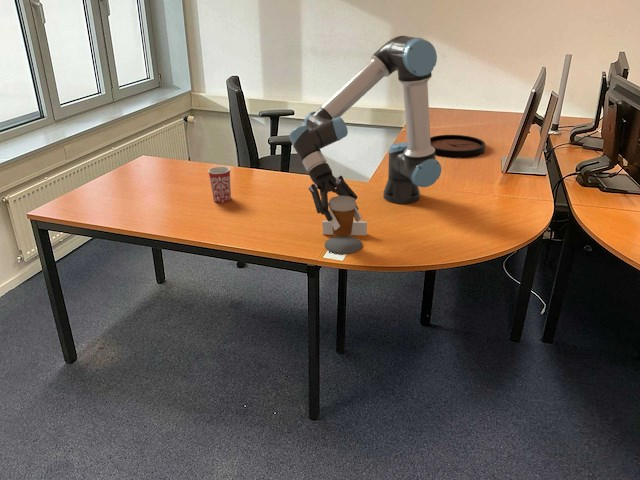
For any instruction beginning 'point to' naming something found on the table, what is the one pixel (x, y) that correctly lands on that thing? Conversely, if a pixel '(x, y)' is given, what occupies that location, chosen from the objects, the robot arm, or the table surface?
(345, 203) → the disposable coffee cup
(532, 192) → the table surface
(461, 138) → the wall clock
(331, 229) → the low wall
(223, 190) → the mug
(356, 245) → the rubber pad
